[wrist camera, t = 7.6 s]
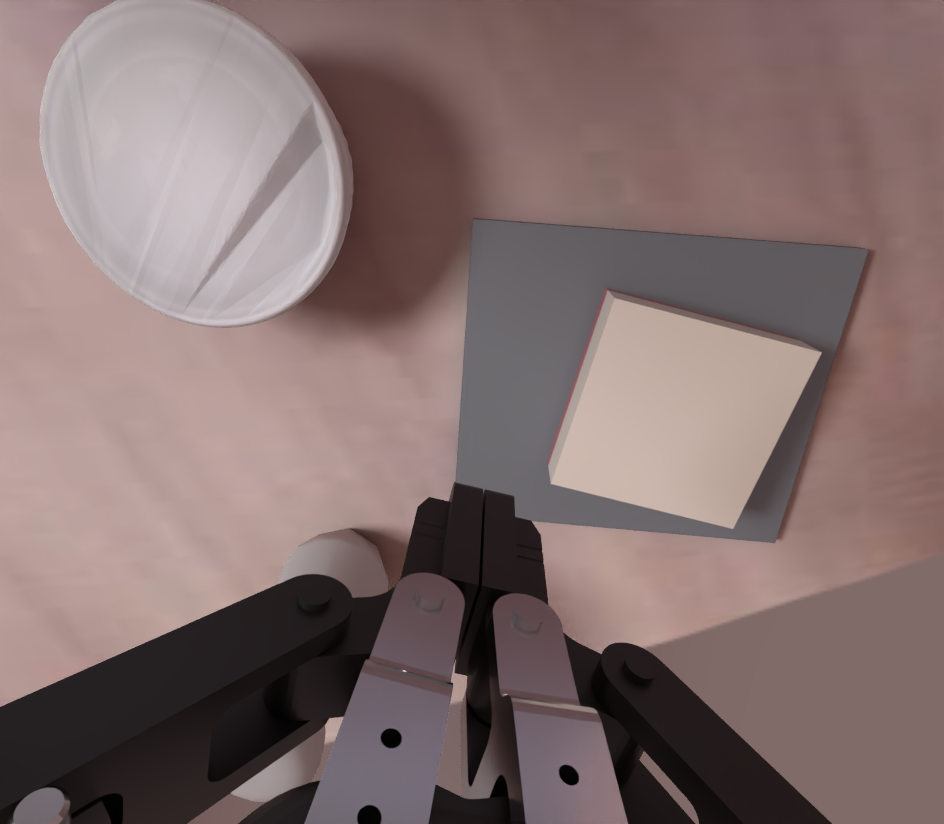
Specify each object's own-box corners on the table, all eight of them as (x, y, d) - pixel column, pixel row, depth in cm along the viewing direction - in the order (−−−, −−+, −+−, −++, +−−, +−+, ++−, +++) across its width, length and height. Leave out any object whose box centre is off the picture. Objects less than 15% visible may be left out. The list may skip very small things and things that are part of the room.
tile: (550, 483, 27) (733, 529, 28) (614, 298, 24) (822, 352, 24) (547, 460, 29) (716, 502, 30) (605, 287, 26) (795, 337, 26)
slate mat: (473, 218, 26) (472, 219, 25) (860, 247, 25) (869, 249, 25) (454, 508, 31) (453, 513, 31) (770, 536, 31) (775, 542, 30)
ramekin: (366, 319, 28) (336, 349, 23) (137, 283, 28) (58, 306, 23) (386, 52, 24) (355, 19, 19) (115, 9, 24) (13, -35, 19)
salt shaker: (392, 515, 32) (323, 721, 20) (400, 599, 34) (342, 830, 22) (288, 515, 32) (158, 717, 20) (303, 598, 34) (193, 825, 22)
